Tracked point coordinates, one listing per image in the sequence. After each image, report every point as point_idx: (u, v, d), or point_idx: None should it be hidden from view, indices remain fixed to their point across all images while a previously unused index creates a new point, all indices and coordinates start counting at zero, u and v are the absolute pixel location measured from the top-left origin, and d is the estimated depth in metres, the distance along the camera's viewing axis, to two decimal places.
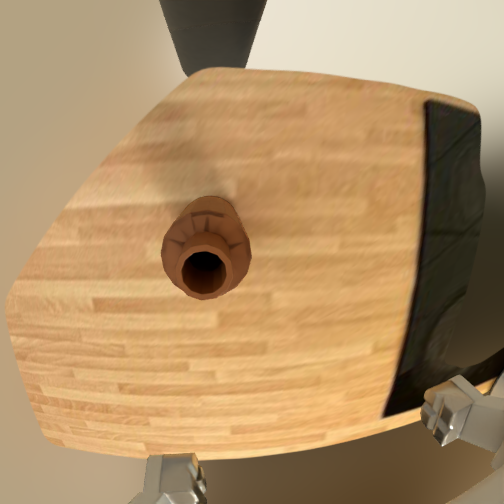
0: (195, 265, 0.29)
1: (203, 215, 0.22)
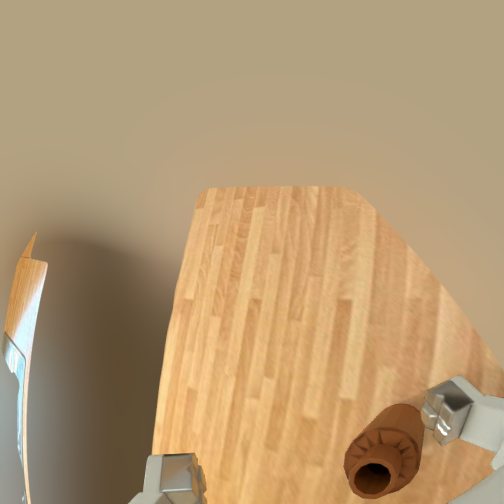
0: None
1: (415, 465, 0.17)
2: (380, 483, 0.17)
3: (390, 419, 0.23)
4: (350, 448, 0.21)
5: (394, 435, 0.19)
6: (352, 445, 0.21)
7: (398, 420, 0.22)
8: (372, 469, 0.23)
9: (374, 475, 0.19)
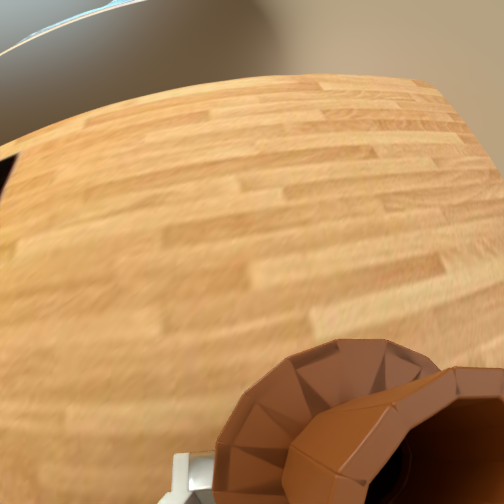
0: None
1: None
2: None
3: None
4: (362, 345, 0.07)
5: None
6: (374, 346, 0.07)
7: None
8: None
9: None
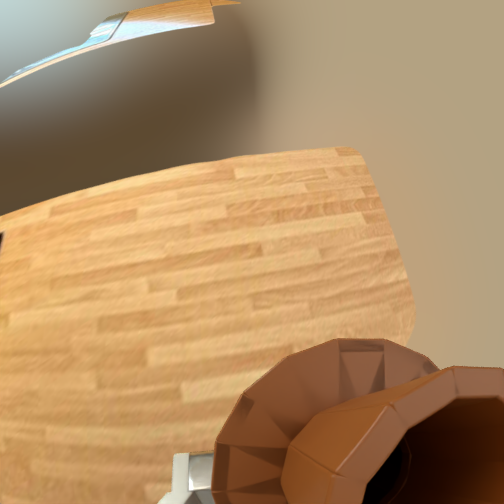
0: None
1: None
2: None
3: None
4: (361, 345, 0.07)
5: None
6: (374, 346, 0.07)
7: None
8: None
9: None
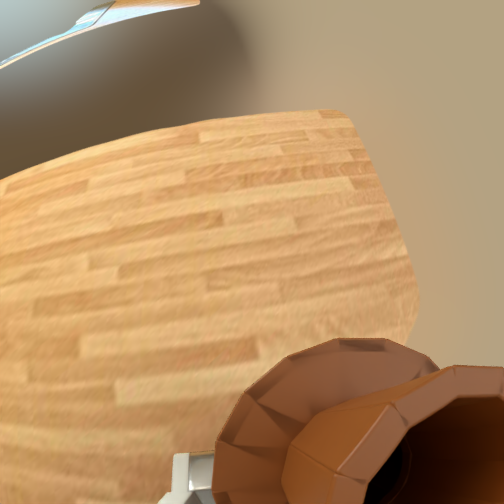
0: None
1: None
2: None
3: None
4: (362, 345, 0.07)
5: None
6: (374, 345, 0.07)
7: None
8: None
9: None
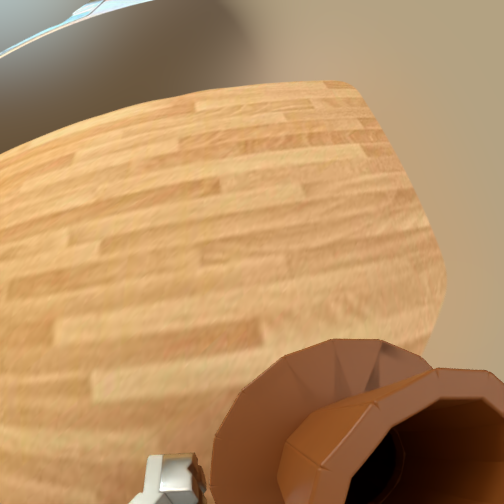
0: None
1: None
2: None
3: None
4: (357, 345, 0.07)
5: None
6: (369, 346, 0.07)
7: None
8: None
9: None
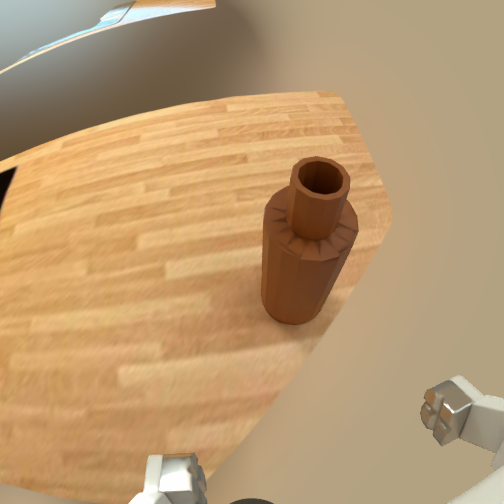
0: None
1: (324, 254, 0.19)
2: None
3: None
4: None
5: (348, 219, 0.21)
6: None
7: None
8: None
9: None
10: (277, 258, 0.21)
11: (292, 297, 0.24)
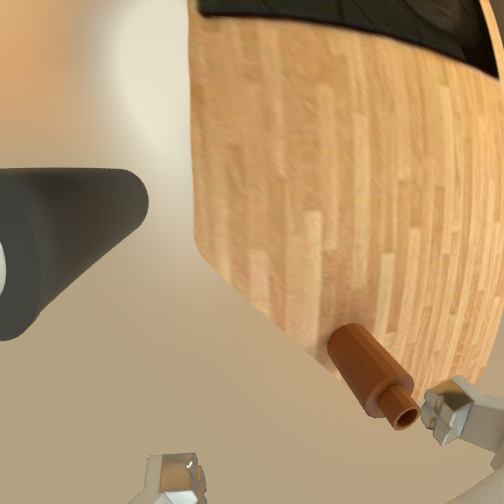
0: None
1: (368, 403, 0.29)
2: (396, 398, 0.28)
3: None
4: None
5: (382, 414, 0.30)
6: None
7: None
8: None
9: None
10: (375, 375, 0.30)
11: (349, 364, 0.35)
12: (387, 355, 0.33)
